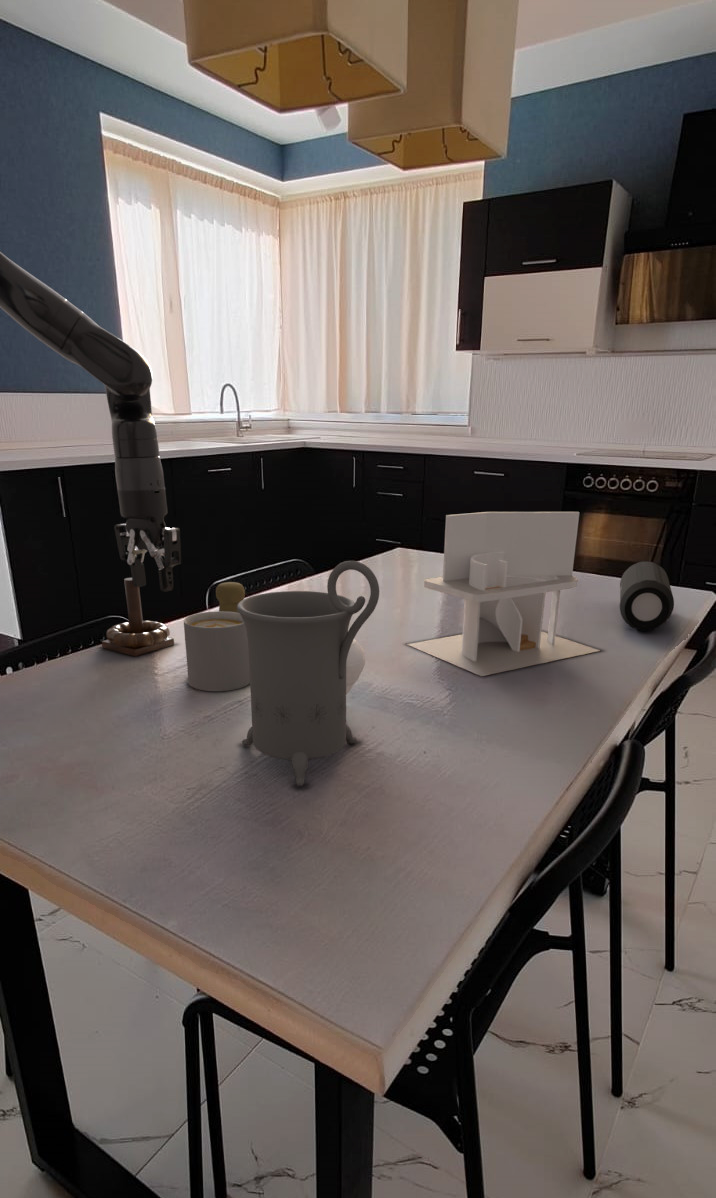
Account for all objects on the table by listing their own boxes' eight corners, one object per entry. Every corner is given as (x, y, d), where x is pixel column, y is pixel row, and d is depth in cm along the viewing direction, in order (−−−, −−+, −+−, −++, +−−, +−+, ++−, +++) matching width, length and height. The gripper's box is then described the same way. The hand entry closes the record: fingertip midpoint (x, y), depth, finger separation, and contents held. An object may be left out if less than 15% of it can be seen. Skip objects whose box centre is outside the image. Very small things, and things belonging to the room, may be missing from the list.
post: (102, 647, 138) (93, 579, 133) (141, 636, 145) (134, 571, 140) (135, 656, 133) (127, 586, 129) (174, 644, 140) (168, 578, 135)
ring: (94, 641, 137) (93, 628, 136) (142, 628, 145) (141, 616, 144) (135, 652, 132) (133, 639, 131) (182, 638, 140) (181, 625, 139)
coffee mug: (229, 695, 116) (225, 630, 112) (175, 685, 120) (170, 623, 116) (274, 669, 127) (272, 610, 123) (223, 661, 131) (220, 604, 127)
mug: (209, 766, 93) (193, 559, 83) (273, 725, 106) (266, 539, 96) (347, 799, 86) (348, 576, 76) (399, 750, 98) (405, 552, 88)
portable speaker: (617, 602, 173) (623, 557, 169) (663, 606, 170) (671, 560, 166) (616, 631, 151) (623, 581, 147) (670, 636, 148) (679, 584, 144)
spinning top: (346, 719, 107) (346, 636, 103) (301, 709, 111) (300, 628, 106) (374, 703, 114) (375, 624, 109) (330, 693, 117) (330, 616, 112)
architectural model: (481, 676, 125) (492, 529, 116) (406, 644, 142) (410, 513, 132) (600, 650, 139) (619, 517, 130) (519, 624, 155) (530, 504, 146)
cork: (210, 645, 140) (206, 585, 136) (225, 636, 145) (222, 578, 141) (241, 648, 138) (238, 587, 134) (255, 639, 144) (252, 580, 139)
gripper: (94, 486, 126) (108, 588, 133) (152, 490, 119) (165, 597, 125) (130, 483, 132) (143, 580, 138) (188, 486, 124) (199, 589, 131)
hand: (153, 588), depth 132 cm, fingers open, 6 cm apart
